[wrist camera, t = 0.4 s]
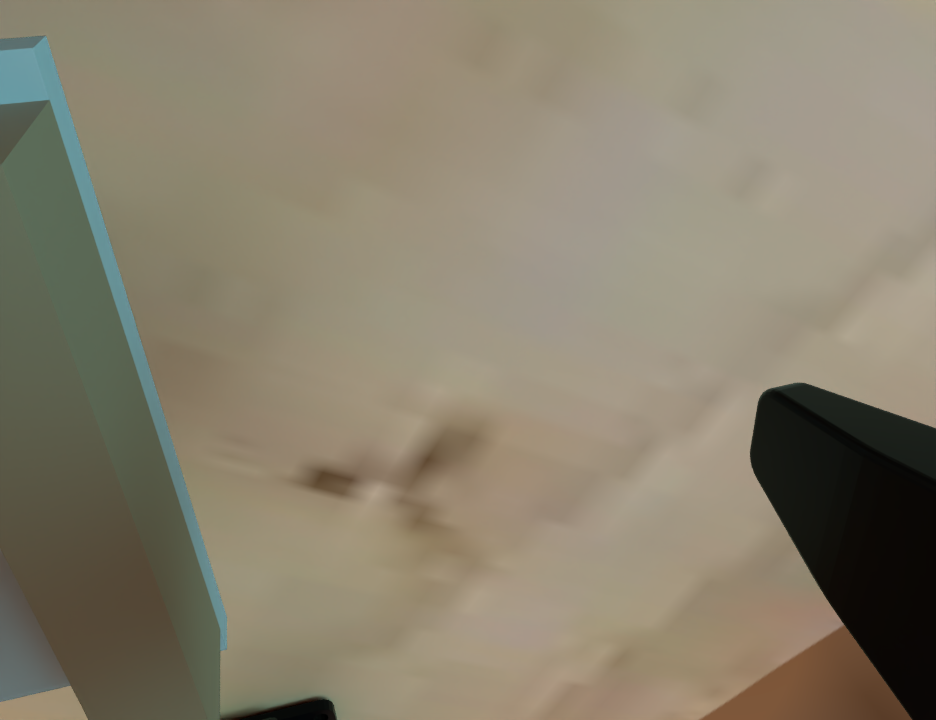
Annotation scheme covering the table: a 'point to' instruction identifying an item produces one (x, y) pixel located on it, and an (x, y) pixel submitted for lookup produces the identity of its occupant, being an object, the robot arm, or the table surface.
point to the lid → (86, 447)
